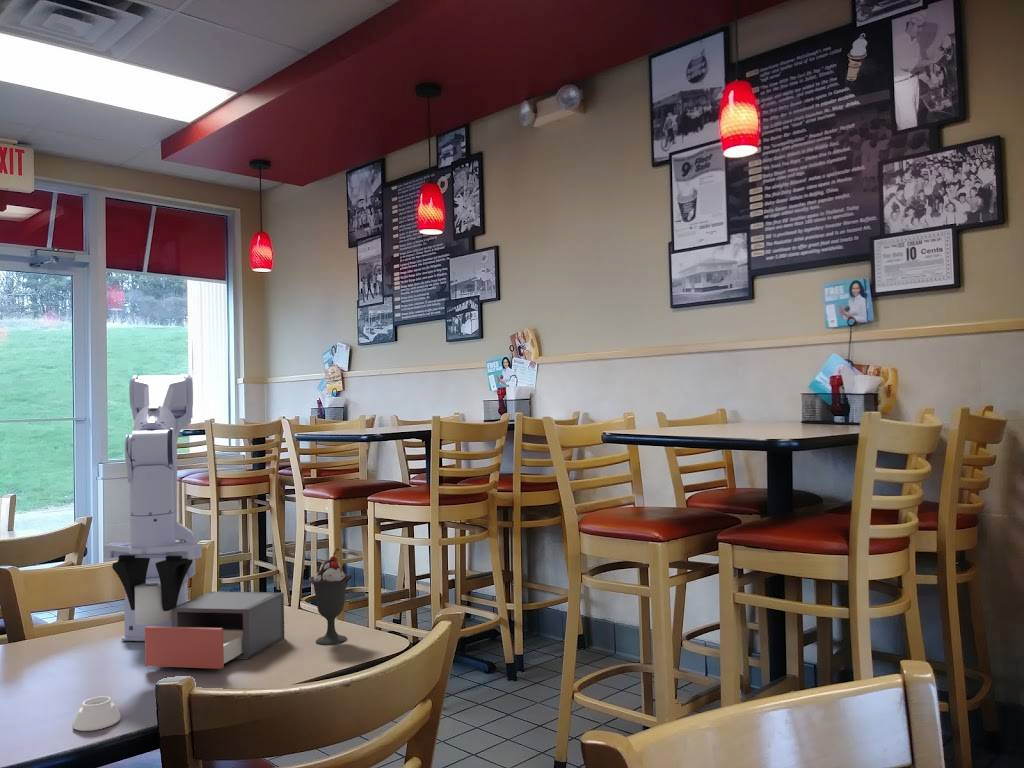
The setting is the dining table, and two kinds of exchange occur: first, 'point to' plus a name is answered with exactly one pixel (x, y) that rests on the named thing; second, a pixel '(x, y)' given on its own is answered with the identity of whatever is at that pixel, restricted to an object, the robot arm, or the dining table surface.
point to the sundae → (330, 596)
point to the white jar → (96, 714)
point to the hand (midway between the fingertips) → (153, 608)
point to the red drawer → (191, 646)
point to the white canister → (149, 604)
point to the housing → (237, 617)
